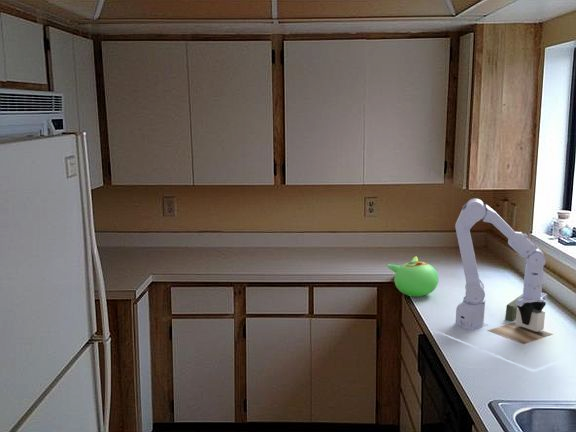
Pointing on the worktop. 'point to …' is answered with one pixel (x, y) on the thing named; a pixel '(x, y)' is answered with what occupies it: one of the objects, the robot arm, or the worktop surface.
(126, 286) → the worktop surface
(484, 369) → the worktop surface
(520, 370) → the worktop surface
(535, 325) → the block
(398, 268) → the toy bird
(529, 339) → the board
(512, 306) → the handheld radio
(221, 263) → the worktop surface
